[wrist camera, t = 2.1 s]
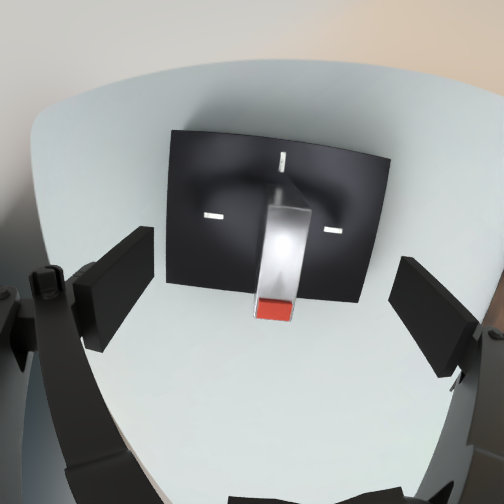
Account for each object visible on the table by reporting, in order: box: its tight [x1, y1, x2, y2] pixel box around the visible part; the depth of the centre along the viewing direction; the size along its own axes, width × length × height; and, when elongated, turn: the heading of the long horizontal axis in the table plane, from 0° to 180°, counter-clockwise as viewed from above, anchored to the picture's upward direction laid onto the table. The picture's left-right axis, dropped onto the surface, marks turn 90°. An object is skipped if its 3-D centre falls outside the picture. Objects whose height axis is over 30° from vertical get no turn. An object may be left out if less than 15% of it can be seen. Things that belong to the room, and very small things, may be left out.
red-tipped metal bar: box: [253, 180, 312, 321], centre depth 18 cm, size 6×2×8 cm, turn 174°
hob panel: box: [166, 130, 391, 303], centre depth 23 cm, size 12×16×3 cm
